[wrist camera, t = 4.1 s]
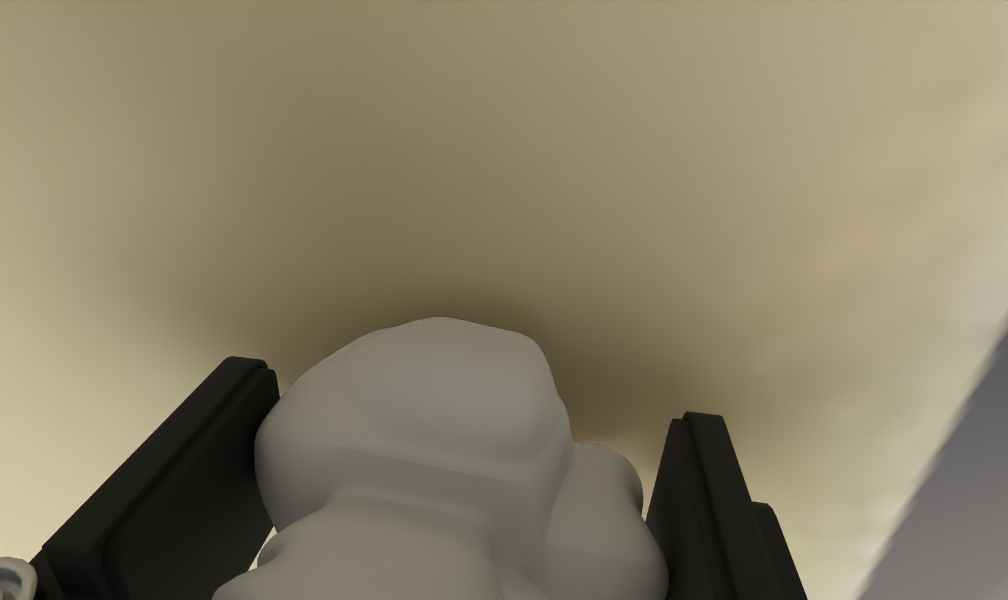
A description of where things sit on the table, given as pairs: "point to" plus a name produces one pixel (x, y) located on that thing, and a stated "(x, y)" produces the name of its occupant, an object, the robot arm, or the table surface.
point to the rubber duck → (442, 480)
